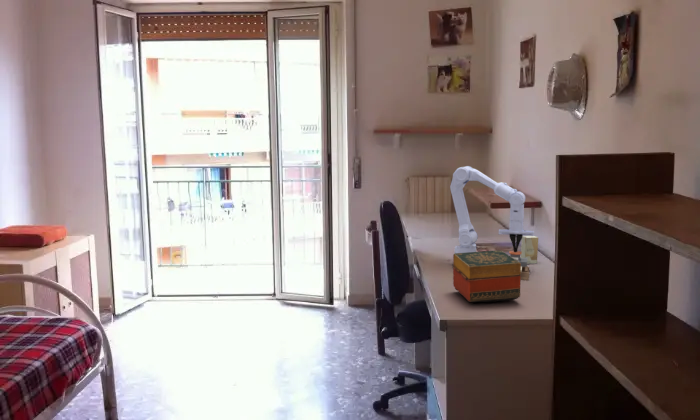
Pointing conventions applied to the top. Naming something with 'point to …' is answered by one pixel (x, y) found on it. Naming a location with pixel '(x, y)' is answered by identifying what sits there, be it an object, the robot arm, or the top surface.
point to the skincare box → (529, 249)
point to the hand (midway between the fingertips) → (515, 251)
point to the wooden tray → (525, 273)
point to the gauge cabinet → (523, 262)
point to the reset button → (515, 254)
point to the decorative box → (486, 276)
